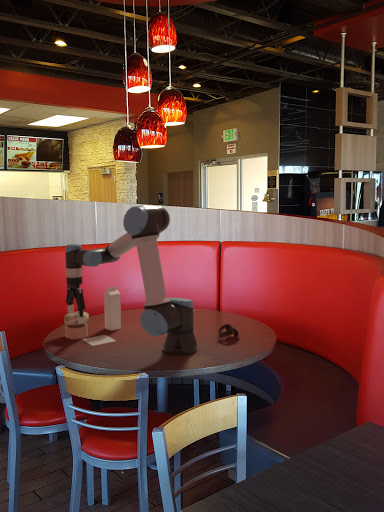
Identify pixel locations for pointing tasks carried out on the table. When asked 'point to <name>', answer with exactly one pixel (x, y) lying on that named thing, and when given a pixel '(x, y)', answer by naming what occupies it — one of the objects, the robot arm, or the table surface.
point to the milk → (112, 309)
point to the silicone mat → (99, 340)
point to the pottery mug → (228, 331)
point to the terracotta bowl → (76, 331)
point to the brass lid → (75, 318)
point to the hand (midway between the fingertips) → (75, 320)
